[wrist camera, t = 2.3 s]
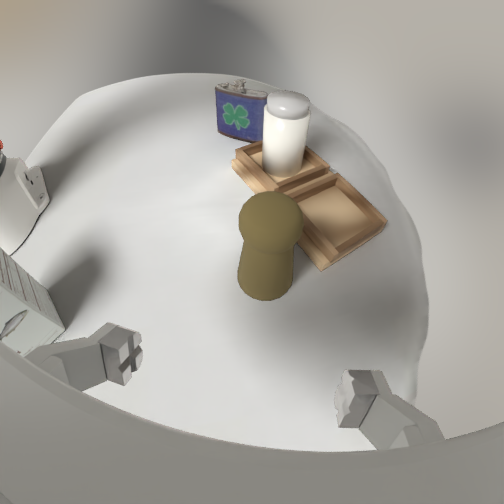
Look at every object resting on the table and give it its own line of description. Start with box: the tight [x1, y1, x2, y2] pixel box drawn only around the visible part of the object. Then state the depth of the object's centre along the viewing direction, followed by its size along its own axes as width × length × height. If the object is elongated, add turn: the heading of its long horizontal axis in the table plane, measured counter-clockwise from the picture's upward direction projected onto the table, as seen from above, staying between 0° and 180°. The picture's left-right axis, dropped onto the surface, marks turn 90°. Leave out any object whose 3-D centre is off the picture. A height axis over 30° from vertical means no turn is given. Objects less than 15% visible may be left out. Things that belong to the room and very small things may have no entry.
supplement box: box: [0, 247, 65, 357], centre depth 20 cm, size 7×7×13 cm
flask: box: [215, 79, 268, 143], centre depth 39 cm, size 9×3×11 cm, turn 60°
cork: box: [238, 191, 304, 301], centre depth 25 cm, size 6×6×11 cm
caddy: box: [232, 140, 387, 271], centre depth 34 cm, size 20×11×3 cm, turn 32°
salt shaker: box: [262, 91, 310, 178], centre depth 32 cm, size 6×6×11 cm
